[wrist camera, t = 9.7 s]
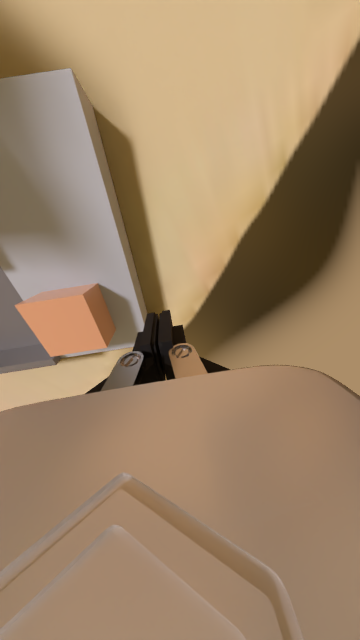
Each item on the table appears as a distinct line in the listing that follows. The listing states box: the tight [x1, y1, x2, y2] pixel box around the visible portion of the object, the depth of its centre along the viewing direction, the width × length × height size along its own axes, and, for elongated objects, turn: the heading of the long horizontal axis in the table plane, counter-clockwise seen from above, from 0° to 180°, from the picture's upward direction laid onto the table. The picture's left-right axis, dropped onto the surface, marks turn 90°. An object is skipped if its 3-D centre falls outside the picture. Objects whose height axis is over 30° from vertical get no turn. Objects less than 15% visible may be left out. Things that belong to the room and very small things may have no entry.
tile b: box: [14, 283, 116, 357], centre depth 14 cm, size 5×5×3 cm
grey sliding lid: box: [0, 68, 147, 358], centre depth 15 cm, size 10×19×3 cm, turn 8°
